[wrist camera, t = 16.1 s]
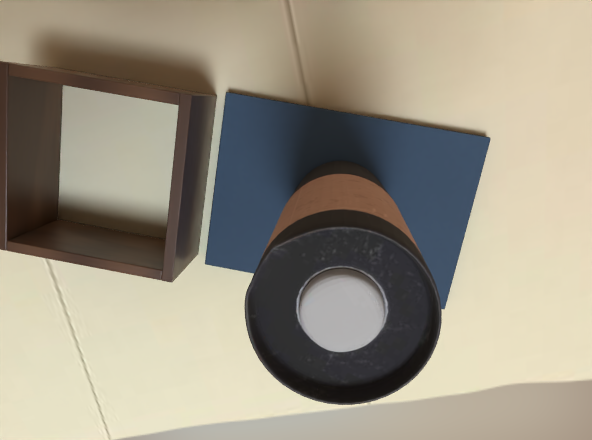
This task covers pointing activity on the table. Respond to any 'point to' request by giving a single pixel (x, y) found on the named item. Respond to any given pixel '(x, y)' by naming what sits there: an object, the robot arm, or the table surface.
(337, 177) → the travel mug
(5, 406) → the table surface
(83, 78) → the cube shelf
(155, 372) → the table surface
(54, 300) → the table surface
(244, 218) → the mat
